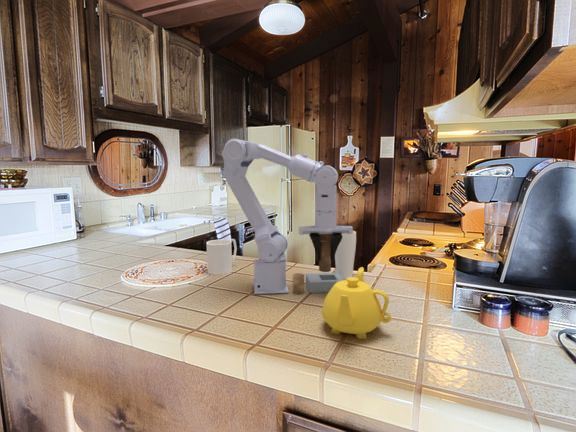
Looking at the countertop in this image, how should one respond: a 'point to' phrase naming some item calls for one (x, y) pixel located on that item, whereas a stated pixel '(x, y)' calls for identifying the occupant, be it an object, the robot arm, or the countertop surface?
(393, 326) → the countertop surface
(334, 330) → the teapot
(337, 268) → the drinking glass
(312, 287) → the socket block
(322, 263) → the walnut dowel
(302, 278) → the oak stub
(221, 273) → the cup
